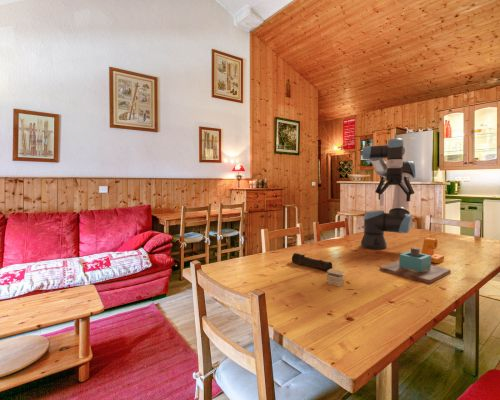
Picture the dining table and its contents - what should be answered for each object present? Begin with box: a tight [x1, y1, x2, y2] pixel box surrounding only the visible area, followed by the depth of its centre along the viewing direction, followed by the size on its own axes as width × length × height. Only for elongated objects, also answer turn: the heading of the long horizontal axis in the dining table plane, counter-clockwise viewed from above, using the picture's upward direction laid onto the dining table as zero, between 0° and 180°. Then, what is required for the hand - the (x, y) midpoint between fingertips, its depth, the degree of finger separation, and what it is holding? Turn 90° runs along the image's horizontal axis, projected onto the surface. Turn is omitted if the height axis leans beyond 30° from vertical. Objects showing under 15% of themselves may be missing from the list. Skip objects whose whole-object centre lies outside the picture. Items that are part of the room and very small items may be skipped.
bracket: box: [420, 237, 445, 264], centre depth 149 cm, size 11×7×12 cm, turn 126°
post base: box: [379, 247, 452, 284], centre depth 133 cm, size 22×22×11 cm
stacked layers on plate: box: [326, 268, 345, 287], centre depth 120 cm, size 10×9×6 cm
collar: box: [398, 250, 432, 272], centre depth 133 cm, size 10×10×6 cm
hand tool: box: [291, 252, 333, 272], centre depth 143 cm, size 23×5×6 cm, turn 43°
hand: (393, 206), depth 154 cm, fingers open, 13 cm apart
